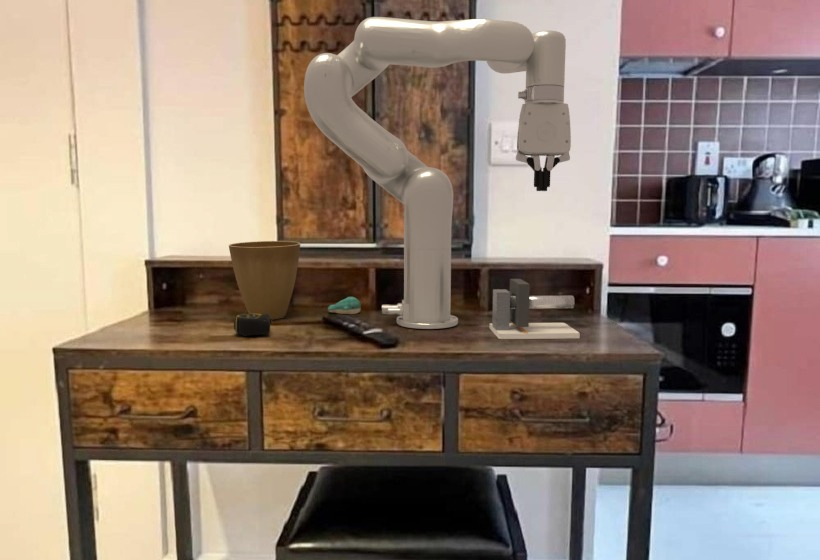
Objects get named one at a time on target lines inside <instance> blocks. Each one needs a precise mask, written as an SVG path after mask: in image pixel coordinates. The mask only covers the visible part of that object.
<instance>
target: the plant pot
mask: <svg viewBox="0 0 820 560" xmlns="http://www.w3.org/2000/svg"><path fill="white" fill-rule="evenodd" d="M228 248H229V253H230V258H231V259H230V261H231V265H232V269H233V272H234V276H235V281H236V284H237V287H238V289H239V294H240V296H241V298H242V300H243V303H244V306H245V309H246V310H247V314H248V313H254V314H268V315H269V316H270V319H272V320H278V319H283V318H285V317H286V314H287V311H288V309H289V307H290V306H289V305H290V303H291V299H292V296H293V291H294V287H295V283H296V279H297V273H298V272H297V271H298V267H299V260H300V259H299V258H300V252H301V250H300V249H301V242H297V241H291V240H262V241H261V240H260V241H259V240H258V241H245V242H244V241H243V242H235V243H230V244H228ZM272 320H271V321H272Z"/></svg>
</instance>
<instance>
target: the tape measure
mask: <svg viewBox="0 0 820 560" xmlns="http://www.w3.org/2000/svg"><path fill="white" fill-rule="evenodd" d="M272 323H273V322H272V319H270V316H269V315H268V314H254V313H248V312H247V313H241V314H238V315H236V316H235V317H234V319H233V330H234V331H235V333H236V334H237V335H241V336H244V337H247V336H257V335H260V336H262V335H264V334H268V333H270V331H271V325H272Z"/></svg>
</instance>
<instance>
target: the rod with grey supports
mask: <svg viewBox="0 0 820 560" xmlns="http://www.w3.org/2000/svg"><path fill="white" fill-rule="evenodd" d="M574 307H575V297H574V295H529V310H530V309H574ZM510 309H516V296H510V290H508V289H504V288H503V289H500V288H497V289H494V288H493V289H492V317H491V318H492V320H491V321H492V322H491V323H492V326H493V328H494V329H495V330H509V324H510V323H511V320H510Z"/></svg>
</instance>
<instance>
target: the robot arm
mask: <svg viewBox="0 0 820 560" xmlns="http://www.w3.org/2000/svg"><path fill="white" fill-rule="evenodd" d="M566 44H567V41H566V37H565V34H564V33H562V32H560V31H557V30H541V31H537V32H533V33H532V31H531V30H530V28H528V27H527V26H525V25H524V24H522V23H519V22H516V21H512V20H509V21H508V20H501V19H500V20H499V19H487V18H486V19H485V18H471V19H470V18H469V19H459V20H458V19H457V20H445V21H444V20H443V21H434V20H431V21H430V20H419V19H410V18H409V19H408V18H398V17H396V18H395V17H385V16H384V17H383V16H371V17H367V18H364V20H362V21H361V22H360V23H359V24H358V26H357V27H356V30H355V32H354V40H353V41H352V42H351V43H350V44H349V45H347V46H346V47H345V48H344V49H343V50H341V52H340V53H339V52H338V54H335V53H334V54H333V53H330V52H325V53H324V52H323V53H319V54H318V55H316V56H314V57H313V58H312V60H311V61H310V62H309V64H308V66H307V68H306V71H305V74H304V80H303V83H304V85H303V95H304V101H305V105H306V107H307V110H308V113H309V115H310V117H311V119H312V120H313V122H314V124H315V126H316V127H317V128H318V129H319V130H320V132H321V133H322V134H323V135H324V136H325V137H326V138H327V139H329V141H331V142H332V143H333V144H334V145H335V146H337V147H338V149H340V150H341V151H342V152H344V154H346V155H347V156H349V157H350V158H351V159H352V160H353V161H355V162H356V163H357V164H358V165H359V166H360V167H361V168H362V169H363V171H364V172H365V174H366V175H367V176H368V177H369V178H370V179H371V180H372V181H374V182H375V183H376V184H378V186H379V187H382V189H383V190H385V191H386V192H387V193H389V194H390V195H391V196H393V197H394V198H395V199H396V200H398V201H399V202H400V203H401V204H403V206H404V211H403V212H404V216H403V218H404V219H403V221H404V222H403V254H404V255H403V258H404V259H403V261H404V262H403V280H404V281H403V299H401V302H398V303H397V304H381V314H383V315H391V316H392V315H397V317H396V324H397V325H398V326H401V327H404V328H409V329H418V330H419V329H420V330H422V329H423V330H438V329H446V328H447V329H448V328H452V327H455V326H457V325H458V324H459V317H457V316H455V315H453V314H451V304H452V303H451V300H452V299H451V297H452V296H451V293H452V291H451V290H452V289H451V286H452V282H451V281H452V225H453V224H452V223H453V211H454V210H453V209H454V189H453V184H452V182H451V180H450V178H449V177H448V175H447V174H446V173H445V172H443V171H442V170H441V169H439V168H436V167H431V166H427V164H425V163H424V162H422V160H420V159H419V158H418V157H416V156H415V155H414V154H413V153H412V152H410V151H409V150H408V149H407V147H406V145H405V143H404V141H402V140H401V139H400V138H399V137H398V136H395V135H394V134H392V133H391V132H389V131H388V130H387V129H386V128H384V127H383V126H382V125H380V124H379V123H378V122H377V121H375V120H374V119H373V118H372V117H371V116H369V114H368V113H366V112H365V111H364V110H363V109H362V108H360V107H359V106H358V104H356V103H355V101H354V100H353V98H352V97H354V96H355V95H356V94H358V93H359V92H360V91H361V90H362V89H363V88H365V87H366V86H367V85H368V84H370V83H371V82H372V81H373V80H374V79H376V78H377V77H378V76H379V75H381V73H382V72H383V71H384V70H386V69H387V68H388V66H390V65H393V66H406V67H407V66H409V67H410V66H411V67H418V68H419V67H420V68H429V69H431V68H432V69H434V68H443V67H447V66H449V65H453V64H456V63H459V62H468V61H469V62H470V61H472V62H475V61H476V62H477V61H480V62H481V61H484V62H486V64H487V65H488V67H489V68H490V69H491V70H492V71H493V72H496V73H499V74H504V75H506V74H512V73H521V72H522V73H523V72H525V89H524V90H522V91H518V93H517V99H520V100H523V101H524V103H522V105H521V107H520V108H521V109H520V113H519V119H518V125H517V127H518V129H517V139H516V150H517V151H516V155H515V160H516V161H517V162H522V163H525V164H527V165H528V166H529V168H531V169H532V171H533V187H534V188H536V192H547V191H548V188H550V187H551V171H552V170H553V169H554V168H555V167H557V165H558V164H560V163H563V162H565V163H566V162H568V161H570V159H571V156H570V151H571V147H572V142H571V141H572V139H571V137H572V136H571V118H570V117H571V115H570V108H569V104H568V103H565V102H564V101H565V78H566V77H565V75H566V74H565V71H566V46H567V45H566ZM541 156H545V160H544V166H543V167H541V160H540V159H541ZM555 156H556V157H555Z"/></svg>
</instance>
